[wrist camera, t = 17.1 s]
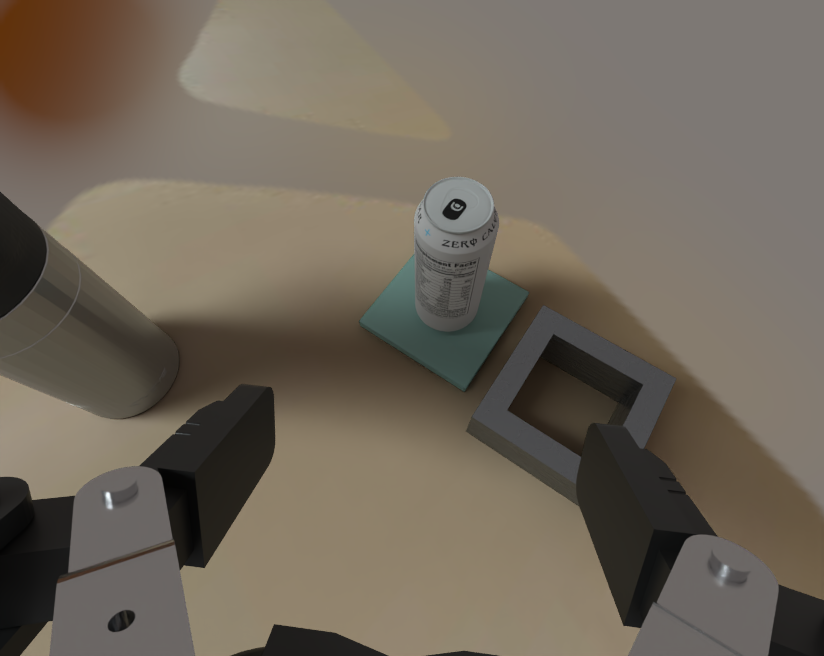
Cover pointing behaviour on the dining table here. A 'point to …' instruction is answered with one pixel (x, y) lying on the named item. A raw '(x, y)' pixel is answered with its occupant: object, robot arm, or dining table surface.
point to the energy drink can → (453, 251)
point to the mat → (441, 350)
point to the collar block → (589, 362)
